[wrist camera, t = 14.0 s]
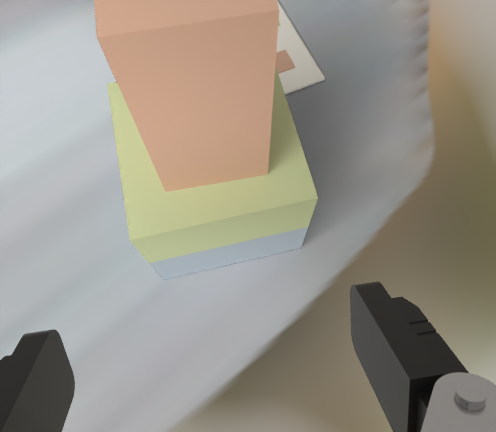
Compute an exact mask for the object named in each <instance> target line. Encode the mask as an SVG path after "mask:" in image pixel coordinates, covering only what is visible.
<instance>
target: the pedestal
mask: <svg viewBox="0 0 496 432" xmlns="http://www.w3.org/2000/svg"><path fill="white" fill-rule="evenodd" d="M107 86H108V93H109V100H110V107H111V113H112V120H113V127H114V134H115V141H116V148H117V155H118V161H119V168H120V175H121V182H122V189H123V196H124V202H125V209H126V216H127V223H128V230H129V237H130V241H131V242H132V243H133V244H134V246H135V247H136V248H137V249H138V250H139V252H140V253H141V254H142V255H143V256H144V258H145V259H146V260H147V261H148V263H149V264H150V265H151V266H152V267H153V269H154V270H155V271H156V272H157V274H158V275H159V276H160V277H161V278H162V280H166V279H170V278H174V277H179V276H183V275H187V274H192V273H196V272H200V271H205V270H209V269H213V268H218V267H222V266H226V265H230V264H235V263H239V262H243V261H248V260H252V259H256V258H261V257H265V256H269V255H274V254H278V253H282V252H286V251H291V250H295V249H299V248H301V247H302V244H303V241H304V238H305V235H306V232H307V230H308V227H309V224H310V221H311V218H312V215H313V212H314V209H315V206H316V203H317V200H318V195H317V192H316V189H315V186H314V183H313V180H312V177H311V174H310V171H309V167H308V164H307V161H306V158H305V155H304V152H303V149H302V146H301V143H300V140H299V136H298V133H297V130H296V127H295V124H294V121H293V118H292V115H291V112H290V109H289V106H288V102H287V99H286V96H285V93H284V90H283V87H282V84H281V81H280V78H279V75H278V71H277V68H276V65H275V79H274V94H273V108H272V122H271V137H270V151H269V165H268V175H263V176H257V177H251V178H245V179H239V180H233V181H228V182H222V183H216V184H210V185H204V186H199V187H193V188H187V189H181V190H175V191H169V192H165V190H164V188H163V185H162V183H161V181H160V179H159V176H158V174H157V172H156V170H155V167H154V165H153V163H152V161H151V158H150V156H149V154H148V152H147V149H146V147H145V145H144V143H143V140H142V138H141V136H140V134H139V131H138V129H137V127H136V124H135V122H134V120H133V118H132V115H131V113H130V111H129V109H128V106H127V104H126V102H125V100H124V97H123V95H122V93H121V91H120V88H119V86H118V84H117V82H113V83H108V84H107Z"/></svg>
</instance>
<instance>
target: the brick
mask: <svg viewBox="0 0 496 432" xmlns="http://www.w3.org/2000/svg"><path fill="white" fill-rule="evenodd" d="M94 6H95V19H96V32H97V39H98V41H99V43H100V45H101V48H102V50H103V52H104V54H105V57H106V59H107V61H108V63H109V66H110V68H111V70H112V73H113V75H114V77H115V79H116V82H117V84H118V86H119V88H120V91H121V93H122V95H123V97H124V100H125V102H126V104H127V106H128V109H129V111H130V113H131V115H132V118H133V120H134V122H135V124H136V127H137V129H138V131H139V134H140V136H141V138H142V140H143V143H144V145H145V147H146V149H147V152H148V154H149V156H150V158H151V161H152V163H153V165H154V167H155V170H156V172H157V174H158V176H159V179H160V181H161V183H162V185H163V188H164V190H165V192H169V191H175V190H181V189H187V188H193V187H199V186H204V185H210V184H216V183H222V182H228V181H233V180H239V179H245V178H251V177H257V176H263V175H268V165H269V151H270V137H271V122H272V108H273V94H274V79H275V65H276V51H277V36H278V22H279V7H278V3H277V0H94Z"/></svg>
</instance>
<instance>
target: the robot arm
mask: <svg viewBox="0 0 496 432" xmlns="http://www.w3.org/2000/svg"><path fill="white" fill-rule="evenodd" d="M350 299H351V335H352V341H353V345H354V349H355V352H356V354H357V356H358V358H359V360H360V362H361V365H362V366H363V369H364V371H365V373H366V375H367V377H368V379H369V382H370V384H371V386H372V387H373V390H374V392H375V394H376V396H377V398H378V401H379V403H380V405H381V407H382V409H383V411H384V413H385V415H386V417H387V420H388V422H389V424H390V426H391V428H392V430H393V432H496V385H494V384H493V383H492V382H490V381H489V380H487V379H485V378H482V377H480V376H477V375H474V374H470V373H468V371H467V370H466V369H465V367H464V366H463V365H462V364H461V362H460V361H459V360H458V358H457V357H456V356H455V354H454V353H453V352H452V350H450V348H449V347H448V345H447V344H446V343H445V341H444V340H443V339H442V338H441V336H440V335H439V334H438V333H436V330H435V328H434V327H433V326H432V325H431V323H430V322H428V319H427V318H426V317H425V316H424V314H423V313H422V312H421V310H420V309H419V308H418V307H417V306H416V305H414V304H413V303H411V302H409V301H408V300H406V299H404V298H403V297H397V298H391V297H390V296H389V294H388V293H387V291H386V290H385V288H384V287H383V286H382V284H381V283H380V282H372V283H366V284H359V285H353V286H351V291H350ZM74 389H75V382H74V375H73V371H72V368H71V366H70V363H69V360H68V357H67V354H66V351H65V349H64V346H63V343H62V340H61V337H60V335H59V333H58V332H57V331H56V330H47V331H41V332H34V333H28V334H24V335H23V336H22V338H21V340H20V341H19V343H18V345H17V347H16V348H15V350H14V352H13V354H12V355H10V356H5V357H4V358H2V359H1V360H0V432H62V429H63V426H64V423H65V420H66V417H67V414H68V411H69V408H70V405H71V402H72V399H73V396H74Z"/></svg>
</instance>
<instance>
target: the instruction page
mask: <svg viewBox="0 0 496 432" xmlns="http://www.w3.org/2000/svg"><path fill="white" fill-rule="evenodd" d="M277 3H278V7H279V22H278V36H277V51H276V68H277V71H278V75H279V78H280V81H281V84H282V87H283V90H284V93H285V95H286V94H289V93H291V92H294V91H297V90H300V89H302V88H305V87H308V86H310V85H313V84H316V83H318V82H321V81H324V80H325V78H324V76H323V74H322V73H321V71H320V69H319V68H318V66H317V65H316V63H315V61H314V60H313V58H312V56H311V55H310V53H309V51H308V50H307V48H306V46H305V45H304V43H303V42H302V40H301V38H300V37H299V35H298V33H297V32H296V30H295V28H294V27H293V25H292V23H291V22H290V20H289V18H288V17H287V15H286V14H285V12H284V10H283V9H282V7H281V5H280V4H279V2H278V0H277Z"/></svg>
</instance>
